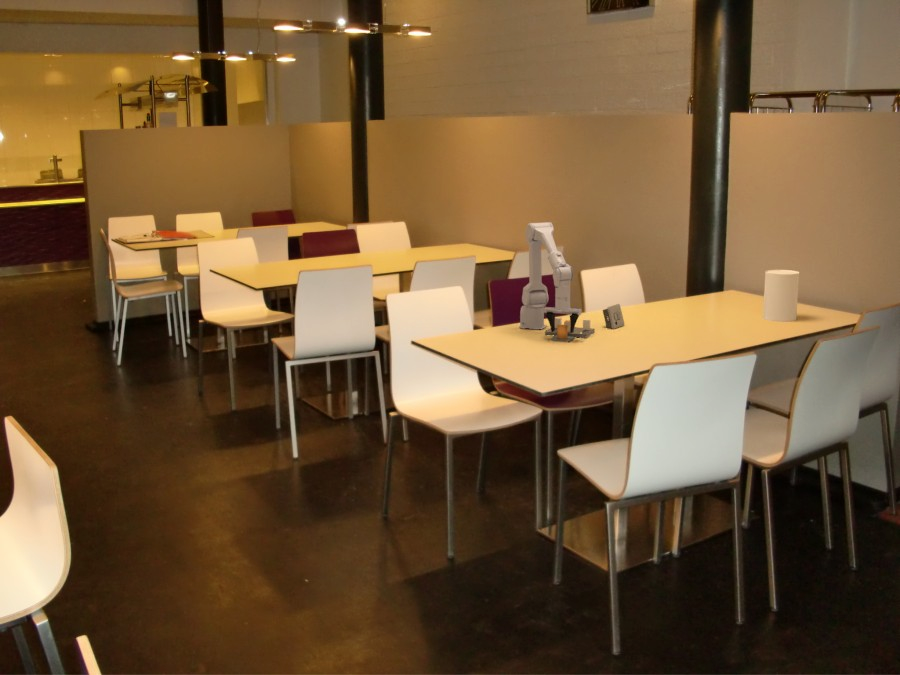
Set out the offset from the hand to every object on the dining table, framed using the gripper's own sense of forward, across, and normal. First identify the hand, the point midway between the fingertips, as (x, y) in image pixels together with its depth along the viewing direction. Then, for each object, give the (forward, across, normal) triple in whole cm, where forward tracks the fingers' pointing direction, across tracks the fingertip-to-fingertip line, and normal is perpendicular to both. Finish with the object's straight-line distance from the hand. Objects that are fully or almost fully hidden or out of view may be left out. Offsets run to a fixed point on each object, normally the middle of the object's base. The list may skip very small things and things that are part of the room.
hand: (562, 331), depth 357 cm
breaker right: (+1, +6, +13) cm, 15 cm away
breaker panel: (+3, 0, +10) cm, 11 cm away
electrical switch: (+3, +13, +30) cm, 32 cm away
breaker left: (+1, -6, +13) cm, 15 cm away
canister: (+3, +75, +70) cm, 102 cm away
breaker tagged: (+1, 0, +7) cm, 8 cm away
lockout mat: (+3, 0, 0) cm, 3 cm away
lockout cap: (+2, 0, 0) cm, 3 cm away
